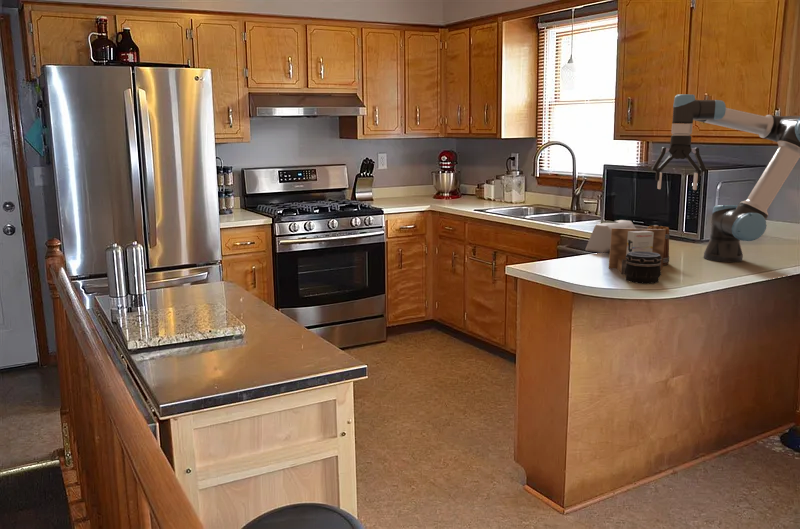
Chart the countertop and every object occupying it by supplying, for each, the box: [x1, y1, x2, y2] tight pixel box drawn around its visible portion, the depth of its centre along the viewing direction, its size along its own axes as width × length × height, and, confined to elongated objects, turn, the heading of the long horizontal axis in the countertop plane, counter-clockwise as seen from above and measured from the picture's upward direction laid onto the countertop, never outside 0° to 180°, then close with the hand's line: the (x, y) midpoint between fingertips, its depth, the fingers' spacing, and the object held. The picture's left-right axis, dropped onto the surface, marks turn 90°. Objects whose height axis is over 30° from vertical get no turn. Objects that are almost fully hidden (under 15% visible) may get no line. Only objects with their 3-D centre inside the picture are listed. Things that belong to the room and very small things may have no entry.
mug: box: [646, 224, 671, 267], centre depth 294 cm, size 16×11×15 cm
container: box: [624, 251, 662, 285], centre depth 259 cm, size 13×13×10 cm
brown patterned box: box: [608, 228, 666, 275], centre depth 274 cm, size 20×11×16 cm, turn 83°
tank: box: [585, 219, 637, 254], centre depth 322 cm, size 25×16×12 cm, turn 136°
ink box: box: [626, 231, 654, 255], centre depth 273 cm, size 9×5×12 cm, turn 106°
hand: (676, 189), depth 284 cm, fingers open, 13 cm apart
